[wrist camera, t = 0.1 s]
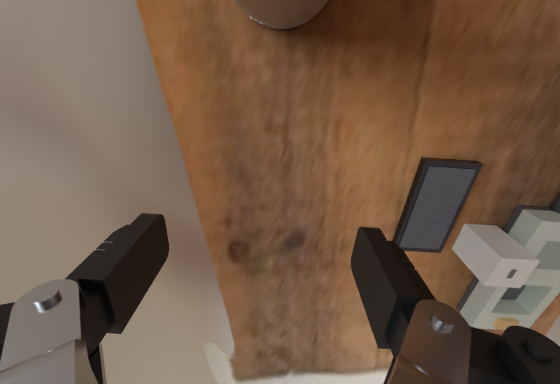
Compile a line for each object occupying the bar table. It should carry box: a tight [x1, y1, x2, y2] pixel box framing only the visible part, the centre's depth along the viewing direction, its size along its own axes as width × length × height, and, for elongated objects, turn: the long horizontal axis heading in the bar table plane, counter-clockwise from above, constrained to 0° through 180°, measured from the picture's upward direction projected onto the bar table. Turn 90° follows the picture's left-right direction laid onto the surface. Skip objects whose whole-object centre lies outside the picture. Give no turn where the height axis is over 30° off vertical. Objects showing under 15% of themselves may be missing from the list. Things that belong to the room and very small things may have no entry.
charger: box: [452, 224, 541, 288], centre depth 29 cm, size 4×4×6 cm
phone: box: [392, 157, 483, 253], centre depth 29 cm, size 12×6×1 cm, turn 176°
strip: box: [456, 194, 560, 330], centre depth 31 cm, size 24×8×4 cm, turn 176°
